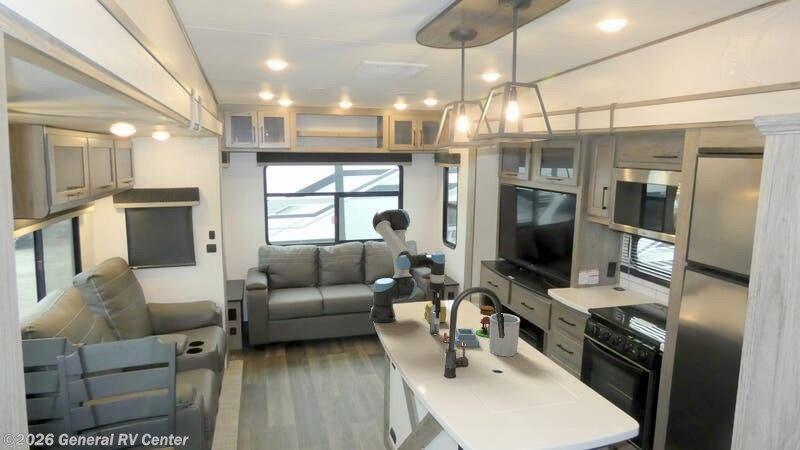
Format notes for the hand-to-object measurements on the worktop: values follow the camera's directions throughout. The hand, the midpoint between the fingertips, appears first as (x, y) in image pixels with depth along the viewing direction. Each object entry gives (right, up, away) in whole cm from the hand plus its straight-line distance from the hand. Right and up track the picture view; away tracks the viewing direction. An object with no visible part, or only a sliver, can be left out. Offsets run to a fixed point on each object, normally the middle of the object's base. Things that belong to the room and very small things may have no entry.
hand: (435, 320), depth 267 cm
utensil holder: (+32, -12, -20) cm, 40 cm away
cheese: (+1, -5, +23) cm, 24 cm away
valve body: (+12, -10, -9) cm, 18 cm away
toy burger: (+28, -9, +4) cm, 30 cm away
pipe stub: (-1, -8, +1) cm, 8 cm away
